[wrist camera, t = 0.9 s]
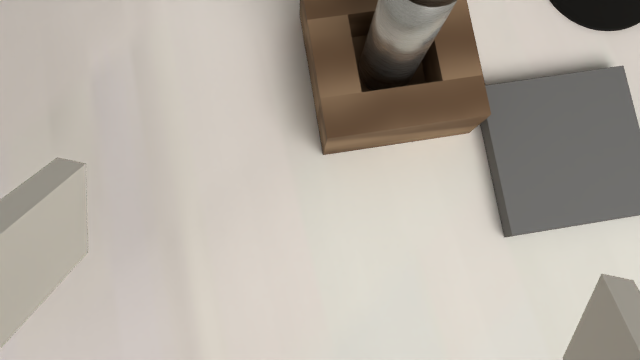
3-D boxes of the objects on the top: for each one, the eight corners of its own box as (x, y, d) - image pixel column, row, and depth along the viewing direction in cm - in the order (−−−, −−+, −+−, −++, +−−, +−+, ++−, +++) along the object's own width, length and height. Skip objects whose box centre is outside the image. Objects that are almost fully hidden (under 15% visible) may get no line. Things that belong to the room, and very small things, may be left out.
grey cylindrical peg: (351, 44, 44) (384, -89, 28) (409, 36, 44) (474, -100, 28) (361, 101, 43) (401, -3, 27) (420, 92, 43) (493, -15, 28)
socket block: (299, 14, 45) (300, -19, 40) (440, -4, 46) (458, -39, 41) (323, 154, 43) (327, 138, 38) (469, 133, 44) (491, 114, 39)
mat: (473, 92, 45) (480, 86, 43) (612, 72, 45) (623, 65, 44) (504, 237, 43) (512, 235, 41) (648, 213, 44) (660, 211, 42)
